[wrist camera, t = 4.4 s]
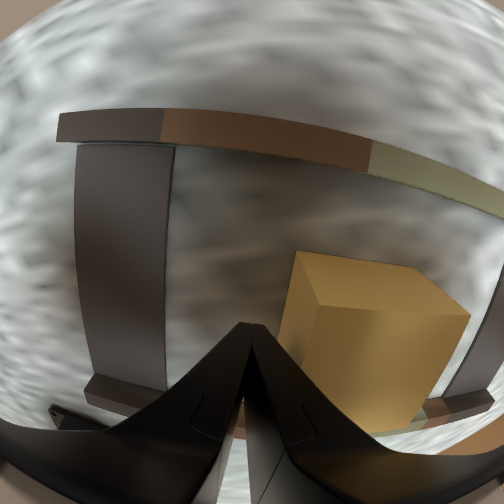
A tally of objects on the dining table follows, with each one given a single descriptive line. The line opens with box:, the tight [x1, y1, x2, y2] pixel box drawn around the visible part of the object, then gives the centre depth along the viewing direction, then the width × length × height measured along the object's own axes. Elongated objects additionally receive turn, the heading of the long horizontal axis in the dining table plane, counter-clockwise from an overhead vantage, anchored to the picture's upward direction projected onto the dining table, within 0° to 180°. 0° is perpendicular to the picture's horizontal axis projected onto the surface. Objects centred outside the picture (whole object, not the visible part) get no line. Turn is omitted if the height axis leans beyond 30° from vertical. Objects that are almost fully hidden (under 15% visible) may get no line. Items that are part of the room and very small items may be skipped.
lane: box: [56, 108, 504, 439], centre depth 10 cm, size 13×25×2 cm, turn 82°
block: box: [277, 250, 471, 433], centre depth 9 cm, size 5×5×4 cm
